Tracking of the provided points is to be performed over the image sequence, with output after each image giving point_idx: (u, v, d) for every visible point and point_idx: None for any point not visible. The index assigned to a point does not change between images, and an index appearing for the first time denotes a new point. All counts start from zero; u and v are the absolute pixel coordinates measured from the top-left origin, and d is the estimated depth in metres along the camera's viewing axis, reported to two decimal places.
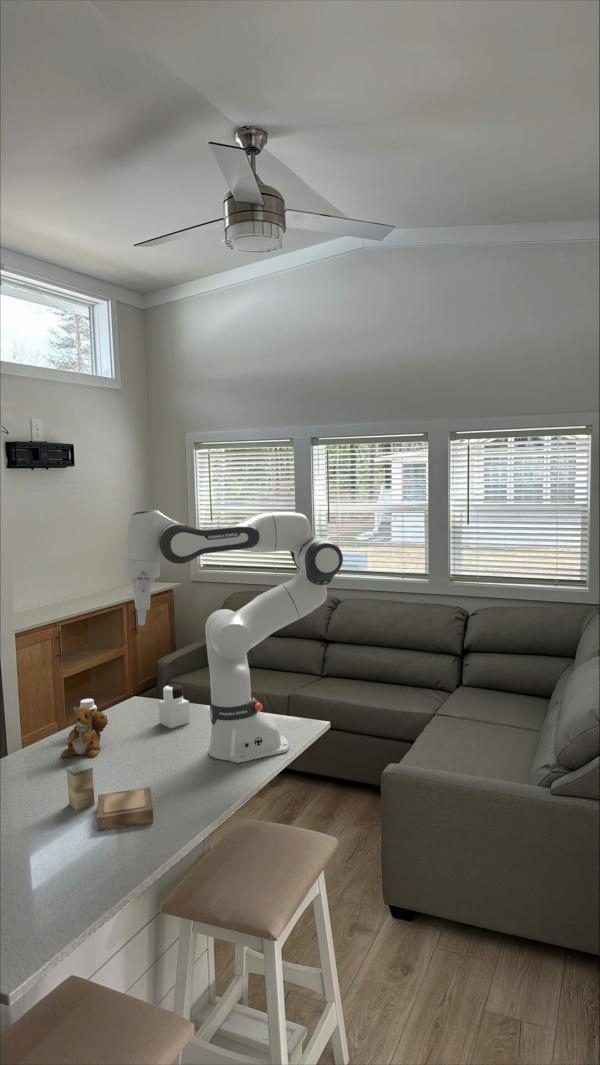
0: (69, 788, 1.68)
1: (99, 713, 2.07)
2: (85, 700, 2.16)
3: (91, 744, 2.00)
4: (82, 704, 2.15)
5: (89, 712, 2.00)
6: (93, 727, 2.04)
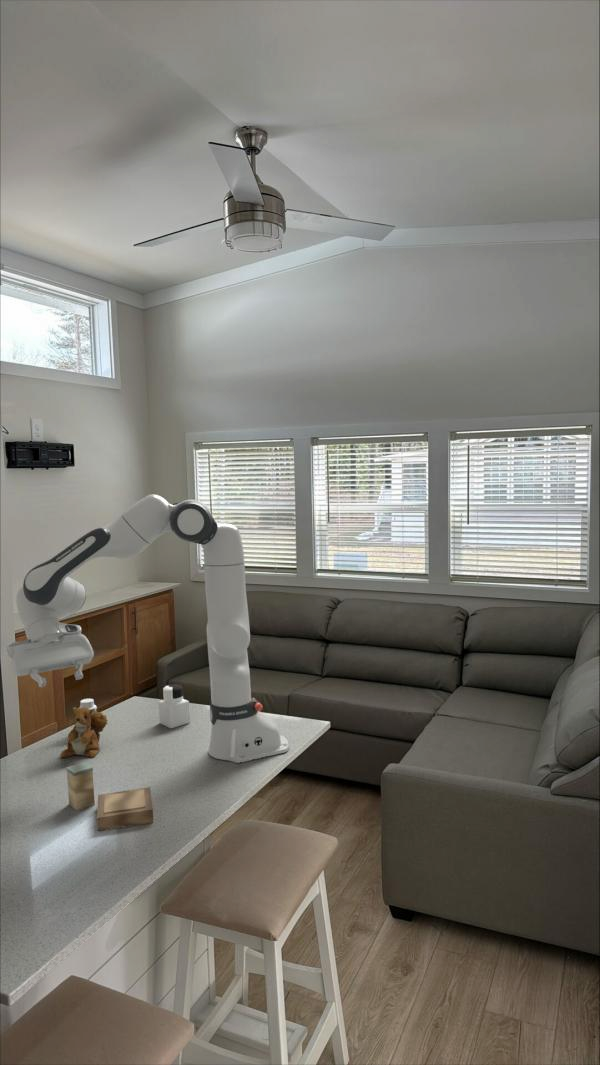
0: (69, 788, 1.68)
1: (98, 713, 2.07)
2: (85, 700, 2.16)
3: (90, 744, 2.00)
4: (82, 704, 2.15)
5: (88, 712, 2.00)
6: (92, 727, 2.04)
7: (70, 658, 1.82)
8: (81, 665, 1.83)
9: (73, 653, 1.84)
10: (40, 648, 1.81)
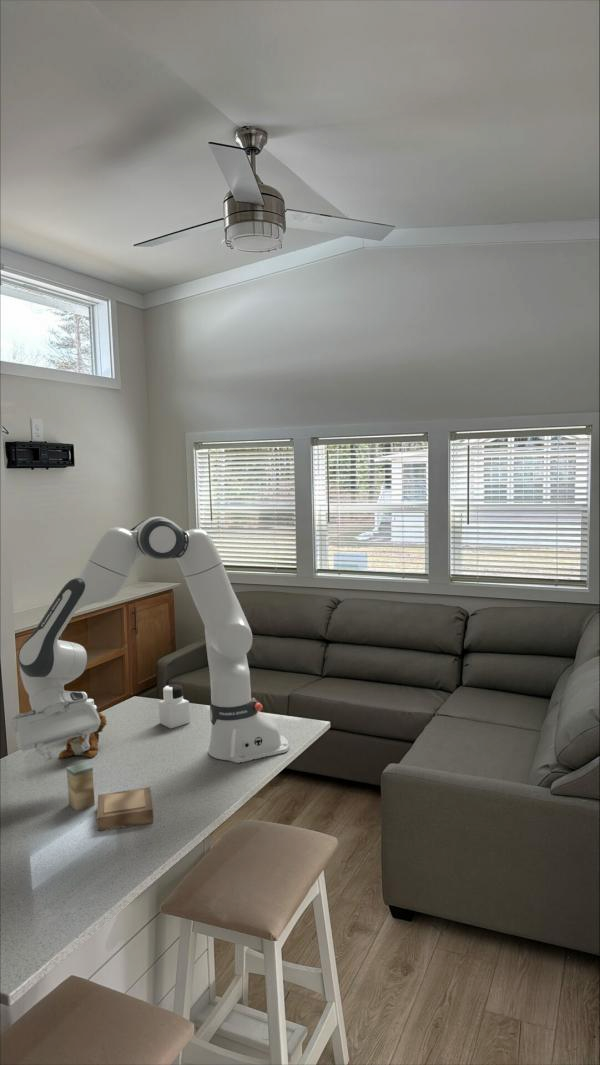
0: (69, 788, 1.68)
1: (98, 714, 2.07)
2: None
3: None
4: None
5: None
6: None
7: (76, 728, 1.77)
8: (88, 735, 1.78)
9: (79, 723, 1.78)
10: (45, 720, 1.75)
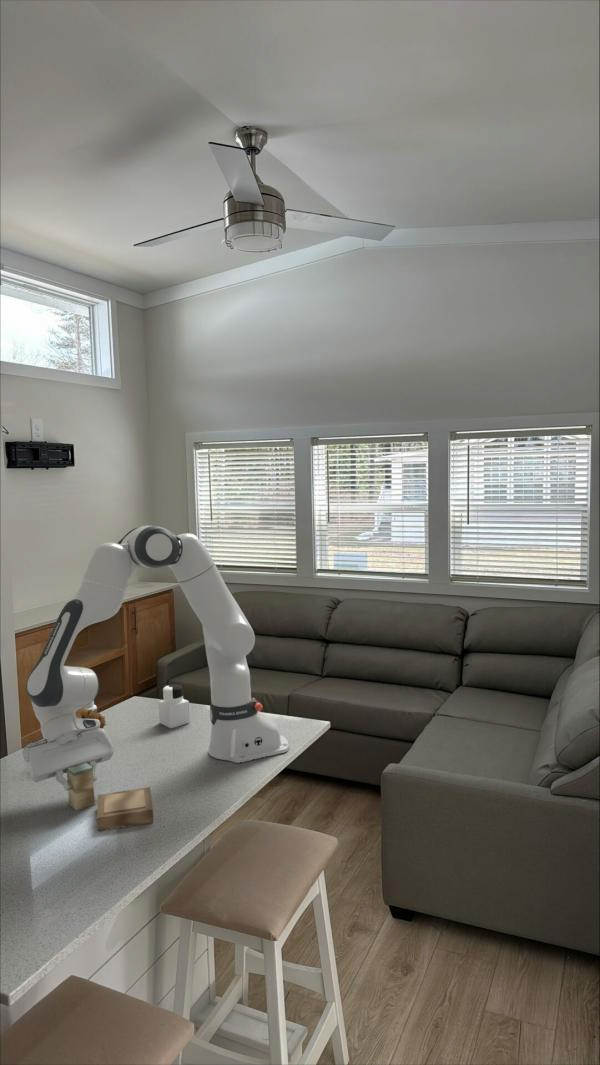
0: None
1: (97, 714, 2.06)
2: None
3: None
4: None
5: (86, 713, 1.99)
6: None
7: (89, 757, 1.72)
8: (94, 766, 1.72)
9: (92, 751, 1.73)
10: (57, 749, 1.70)
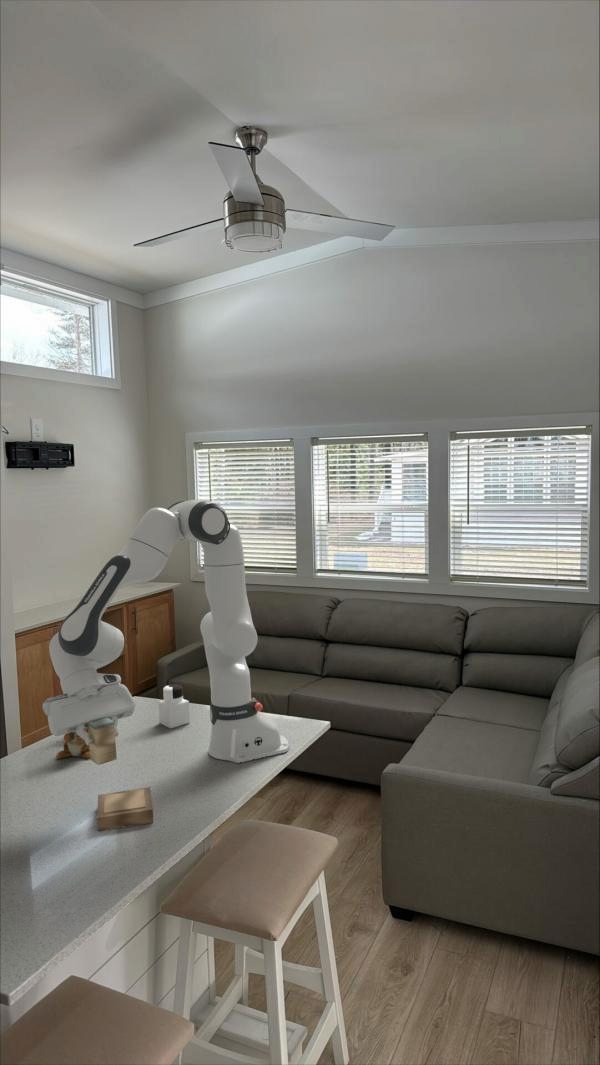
0: None
1: None
2: None
3: (86, 746, 1.99)
4: None
5: None
6: None
7: (110, 712, 1.67)
8: (116, 721, 1.67)
9: (113, 706, 1.69)
10: (78, 703, 1.66)
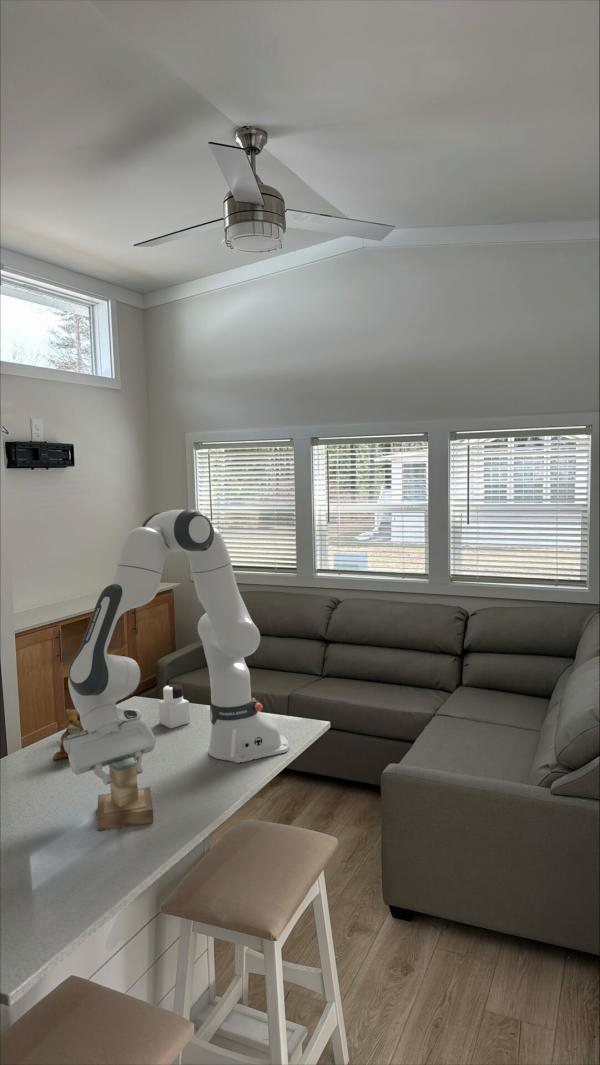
0: (112, 784, 1.62)
1: None
2: None
3: None
4: None
5: None
6: None
7: (131, 749, 1.65)
8: (140, 757, 1.66)
9: (134, 743, 1.67)
10: (99, 740, 1.63)
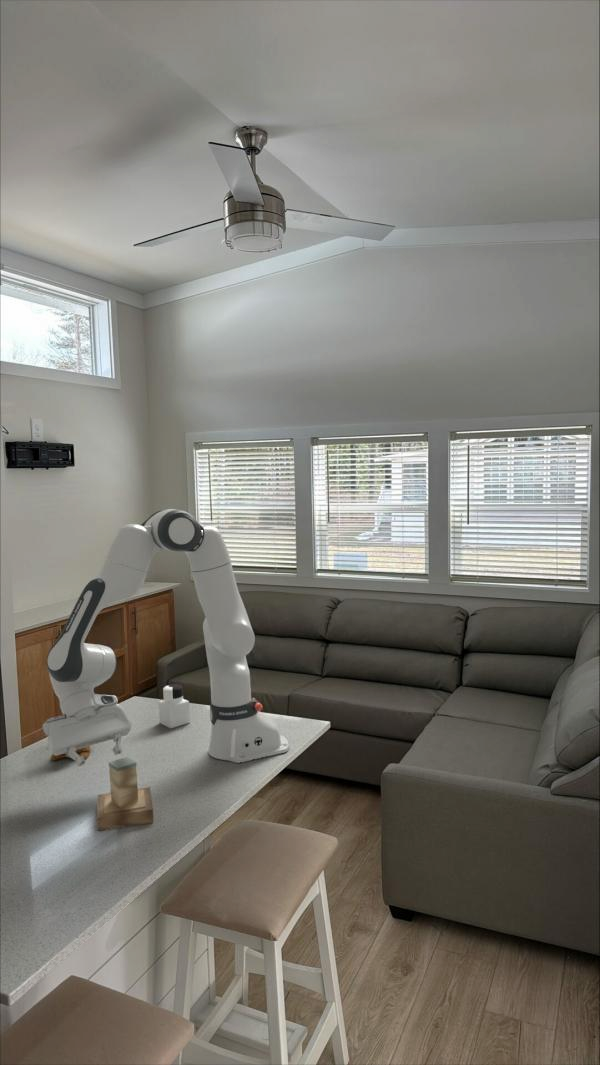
0: (112, 784, 1.62)
1: None
2: None
3: None
4: None
5: None
6: None
7: (107, 732, 1.75)
8: (119, 739, 1.76)
9: (110, 726, 1.77)
10: (76, 724, 1.73)
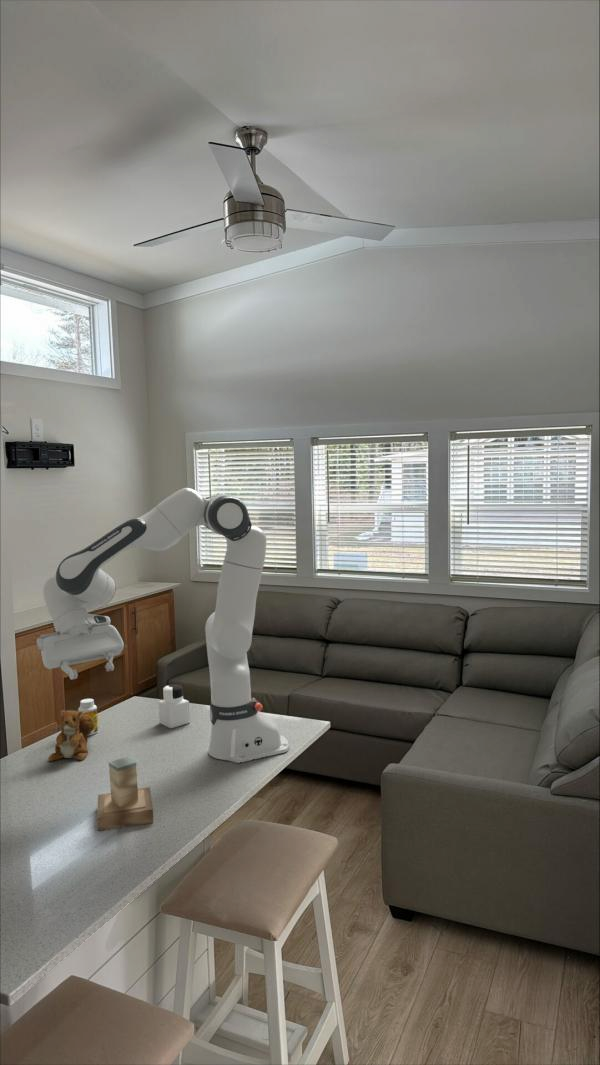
0: (112, 784, 1.62)
1: (86, 716, 2.05)
2: (85, 700, 2.16)
3: (79, 747, 1.98)
4: (82, 704, 2.15)
5: (77, 715, 1.98)
6: (80, 730, 2.02)
7: (100, 649, 1.78)
8: (112, 656, 1.79)
9: (103, 644, 1.80)
10: (70, 640, 1.77)
